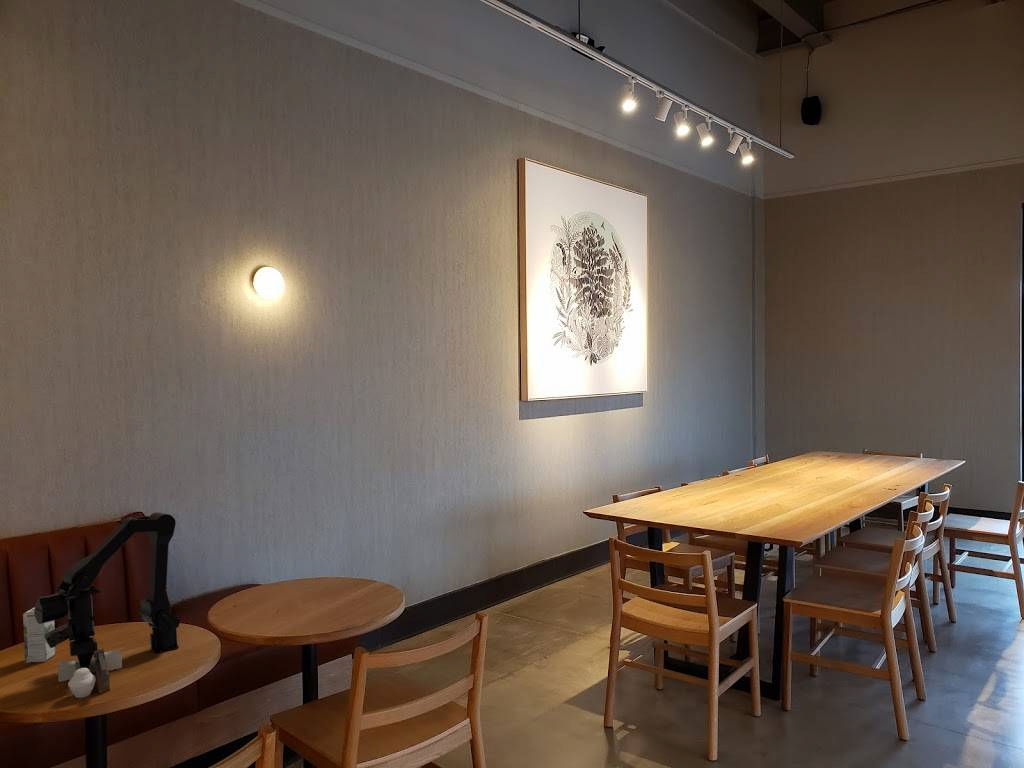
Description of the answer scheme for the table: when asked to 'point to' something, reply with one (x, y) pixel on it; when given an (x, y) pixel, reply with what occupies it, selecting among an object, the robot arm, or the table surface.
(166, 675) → the table surface
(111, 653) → the square-ended dumbbell
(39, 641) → the syrup box
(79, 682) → the muffin
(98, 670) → the dark brown block
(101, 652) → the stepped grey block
